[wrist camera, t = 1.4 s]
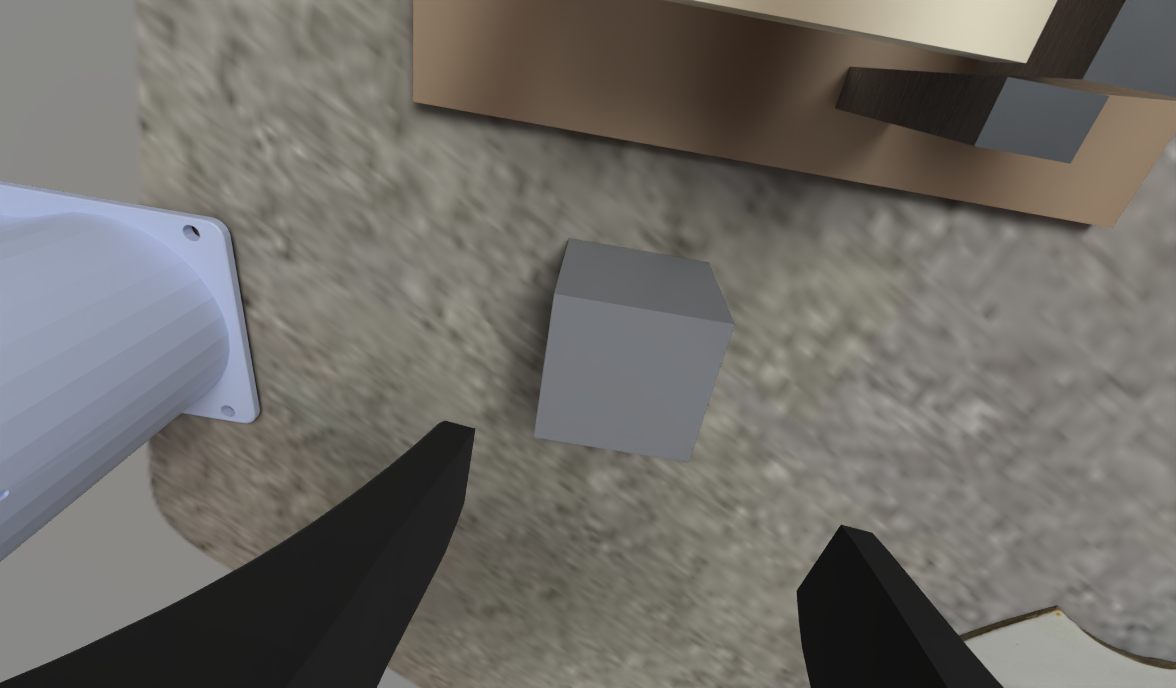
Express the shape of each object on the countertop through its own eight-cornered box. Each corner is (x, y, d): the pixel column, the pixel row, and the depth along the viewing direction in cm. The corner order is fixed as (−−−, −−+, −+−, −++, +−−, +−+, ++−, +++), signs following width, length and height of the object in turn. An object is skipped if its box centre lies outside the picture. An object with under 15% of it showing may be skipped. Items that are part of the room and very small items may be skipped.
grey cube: (551, 357, 19) (533, 437, 15) (569, 237, 17) (554, 293, 13) (674, 378, 19) (688, 462, 15) (708, 261, 17) (734, 324, 13)
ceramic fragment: (881, 651, 27) (921, 738, 23) (923, 582, 24) (975, 668, 21) (1156, 679, 27) (1235, 770, 23) (1225, 613, 24) (1325, 704, 21)
